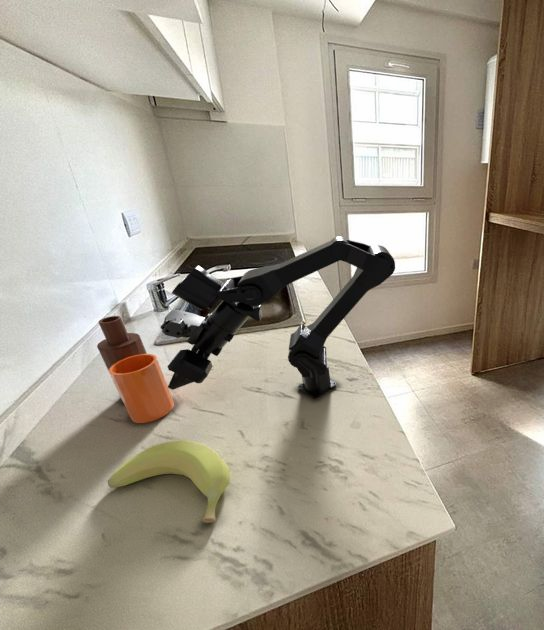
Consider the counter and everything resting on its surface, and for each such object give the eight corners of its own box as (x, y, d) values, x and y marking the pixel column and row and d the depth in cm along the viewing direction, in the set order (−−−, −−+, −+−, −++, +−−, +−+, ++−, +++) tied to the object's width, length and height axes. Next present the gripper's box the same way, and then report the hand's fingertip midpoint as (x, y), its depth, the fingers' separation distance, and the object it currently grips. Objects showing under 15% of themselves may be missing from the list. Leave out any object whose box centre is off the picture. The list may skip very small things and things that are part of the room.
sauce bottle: (165, 391, 76) (136, 318, 68) (128, 408, 71) (92, 330, 63) (153, 381, 80) (124, 309, 72) (118, 395, 75) (82, 320, 67)
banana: (183, 412, 60) (239, 483, 50) (199, 428, 64) (253, 497, 54) (95, 473, 52) (140, 570, 42) (118, 487, 56) (164, 580, 46)
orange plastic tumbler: (177, 412, 70) (158, 365, 65) (132, 428, 66) (109, 379, 61) (171, 394, 75) (154, 349, 70) (130, 409, 71) (108, 362, 66)
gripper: (200, 282, 71) (158, 332, 73) (163, 319, 55) (111, 383, 57) (248, 311, 76) (207, 358, 78) (227, 354, 60) (177, 411, 62)
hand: (179, 374), depth 69 cm, fingers open, 9 cm apart
